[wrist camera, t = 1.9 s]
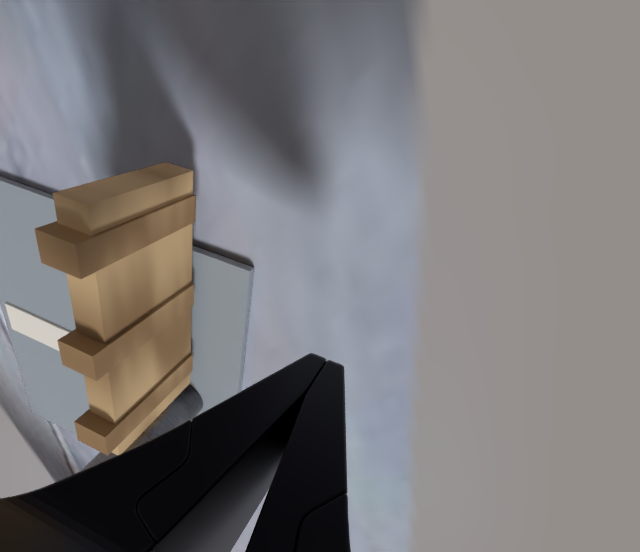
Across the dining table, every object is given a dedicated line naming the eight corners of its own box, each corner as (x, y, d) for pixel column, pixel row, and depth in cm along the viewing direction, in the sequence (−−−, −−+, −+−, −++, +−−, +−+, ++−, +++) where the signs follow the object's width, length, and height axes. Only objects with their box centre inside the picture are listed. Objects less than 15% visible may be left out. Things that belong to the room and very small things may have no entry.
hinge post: (206, 413, 18) (123, 514, 14) (173, 398, 19) (82, 491, 14) (207, 385, 17) (119, 484, 13) (173, 370, 18) (76, 461, 14)
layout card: (228, 508, 21) (224, 515, 21) (36, 408, 24) (29, 412, 24) (254, 267, 14) (248, 272, 13) (-31, 165, 17) (-42, 166, 16)
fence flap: (192, 383, 16) (110, 470, 13) (168, 372, 17) (80, 454, 13) (195, 171, 12) (70, 213, 8) (163, 161, 12) (27, 197, 9)
